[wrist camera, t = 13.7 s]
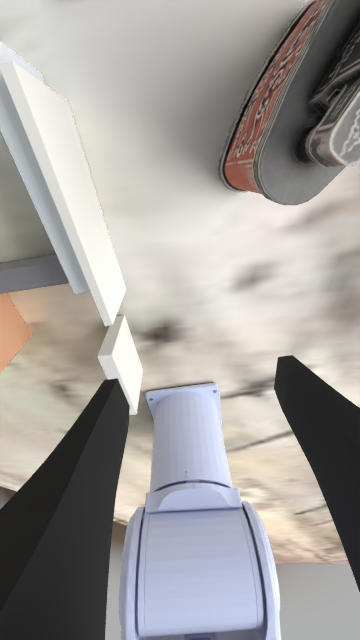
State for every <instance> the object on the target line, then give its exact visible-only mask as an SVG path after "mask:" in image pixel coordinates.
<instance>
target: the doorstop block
mask: <svg viewBox="0 0 360 640" xmlns="http://www.w3.org/2000/svg"><path fill="white" fill-rule="evenodd" d="M32 335H33V333H32V332H31V330H30V329H29V327H28V326H27V324H26V322H25V321H24V319H23V318H22V316H21V315H20V313H19V311H18V310H17V308H16V307H15V305H14V304H13V302H12V301H11V299H10V297H9V296H8V294H7V293H1V294H0V373H1V372H2V370H3V369H4V368H5V367H6V366H7V364H8V363H9V362H10V361H11V360H12V359H13V357H14V356H15V355H16V354H17V353H18V351H19V350H20V349H21V348H22V347H23V346H24V344H25V343H26V342H27V341H28V340H29V338H30V337H31V336H32Z"/></svg>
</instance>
